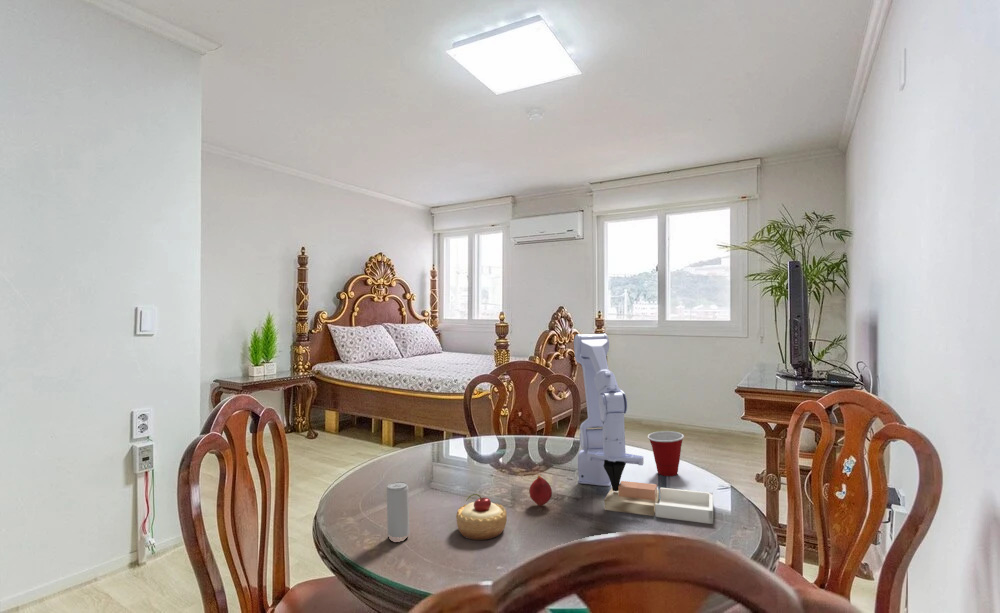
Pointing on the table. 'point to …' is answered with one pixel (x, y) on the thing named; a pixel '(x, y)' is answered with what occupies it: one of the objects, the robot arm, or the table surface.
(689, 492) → the tray
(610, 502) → the board
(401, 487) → the beverage can
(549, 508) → the table surface
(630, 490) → the tile
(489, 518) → the pastry
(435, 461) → the table surface
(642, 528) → the table surface
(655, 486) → the tile
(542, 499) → the onion
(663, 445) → the plastic cup
